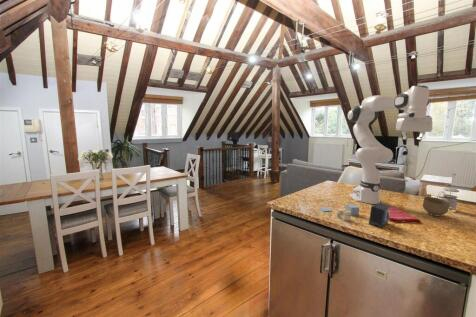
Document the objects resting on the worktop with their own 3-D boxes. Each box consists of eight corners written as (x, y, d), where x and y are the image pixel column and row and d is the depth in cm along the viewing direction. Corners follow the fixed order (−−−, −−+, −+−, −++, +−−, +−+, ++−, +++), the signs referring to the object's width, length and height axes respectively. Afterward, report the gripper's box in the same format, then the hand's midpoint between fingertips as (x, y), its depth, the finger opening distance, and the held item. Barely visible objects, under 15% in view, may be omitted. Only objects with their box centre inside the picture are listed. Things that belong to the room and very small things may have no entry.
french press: (461, 213, 153) (468, 175, 149) (440, 211, 155) (447, 174, 151) (451, 208, 162) (457, 172, 158) (431, 206, 164) (437, 171, 161)
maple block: (336, 217, 138) (337, 209, 137) (343, 216, 140) (344, 208, 139) (343, 221, 134) (344, 212, 133) (350, 219, 135) (351, 211, 135)
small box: (381, 228, 125) (383, 209, 124) (368, 224, 130) (370, 205, 129) (388, 223, 132) (391, 205, 130) (376, 219, 137) (378, 202, 135)
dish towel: (391, 222, 134) (391, 218, 134) (369, 208, 158) (370, 204, 157) (422, 224, 134) (422, 219, 133) (396, 209, 157) (396, 205, 157)
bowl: (437, 220, 140) (440, 203, 138) (416, 212, 152) (418, 197, 150) (453, 218, 143) (455, 202, 141) (431, 210, 155) (433, 196, 154)
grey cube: (345, 212, 147) (346, 204, 146) (353, 212, 148) (354, 204, 147) (350, 215, 142) (351, 207, 141) (358, 215, 143) (359, 207, 142)
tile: (318, 208, 152) (318, 207, 152) (327, 208, 153) (327, 207, 153) (322, 211, 147) (322, 210, 146) (331, 211, 147) (332, 210, 147)
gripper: (427, 115, 137) (423, 139, 139) (395, 114, 134) (392, 138, 136) (437, 115, 131) (433, 140, 133) (404, 114, 128) (401, 139, 130)
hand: (412, 139), depth 135 cm, fingers open, 8 cm apart
